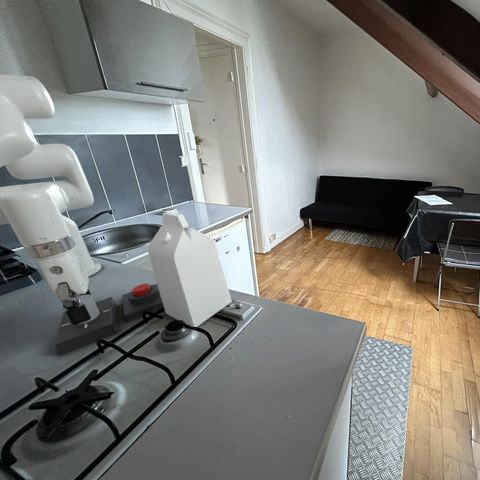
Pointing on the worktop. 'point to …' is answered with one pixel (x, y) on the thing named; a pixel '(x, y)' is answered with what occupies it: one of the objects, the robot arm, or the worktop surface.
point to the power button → (141, 290)
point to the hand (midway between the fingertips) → (83, 311)
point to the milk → (187, 271)
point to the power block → (141, 303)
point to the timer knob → (89, 306)
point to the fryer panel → (87, 328)
